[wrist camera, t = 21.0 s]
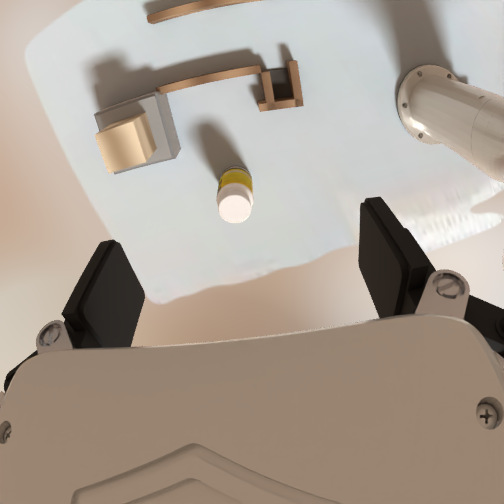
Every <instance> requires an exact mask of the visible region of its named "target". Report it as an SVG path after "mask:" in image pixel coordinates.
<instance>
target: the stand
mask: <svg viewBox="0 0 504 504" xmlns="http://www.w3.org/2000/svg"><path fill="white" fill-rule="evenodd" d="M145 112H146V114H147V118H148V121H149V124H150V128H151V131H152V134H153V137H154V141H155V144H156V147H157V149H156V150H155V152H154V153H153V154H152V155H151V157H150V158H149V159H148V161H147V162H145V163H142V164H138V165H135V166H131V167H128V168H125V169H121V170H118V171H115V172H114V174H118V173H121V172H125V171H128V170H132V169H136V168H139V167H143V166H147V165H151V164H155V163H159V162H163V161H167V160H171V159H175V158H176V157H177V155H178V153H179V151H180V150H181V147H180V144H179V140H178V136H177V133H176V129H175V125H174V121H173V118H172V114H171V110H170V106H169V102H168V98H167V95H166V93H165V94H161V92H160V91H158V92H156V91H155V92H151V93H148V94H145V95H142V96H139V97H136V98H133V99H130V100H127V101H124V102H121V103H118V104H115V105H112V106H110V107H107V108H105V109H103V110H101V111H99V112H97V113H95V114H94V116H95V119H96V122H97V125H98V128H99V131H101V130H103V129H104V128H106V127H107V126H109V125H110V124H113V123H115V122H118V121H121V120H124V119H127V118H130V117H133V116H136V115H139V114H142V113H145Z"/></svg>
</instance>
